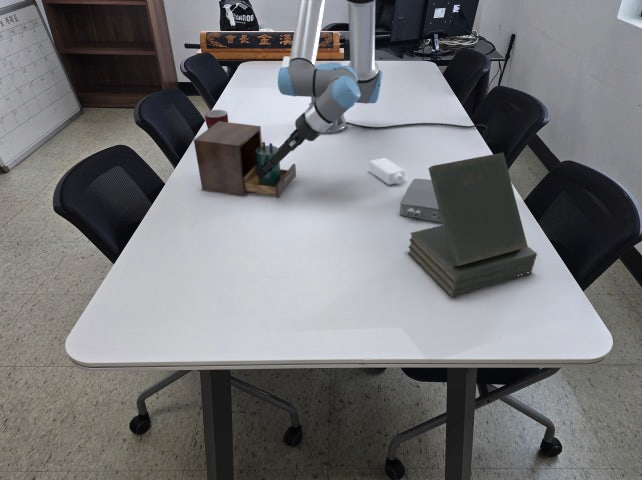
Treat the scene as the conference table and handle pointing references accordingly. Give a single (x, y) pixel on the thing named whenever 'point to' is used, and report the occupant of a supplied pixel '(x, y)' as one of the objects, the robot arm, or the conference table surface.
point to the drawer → (281, 185)
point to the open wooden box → (227, 156)
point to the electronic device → (420, 201)
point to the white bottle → (387, 171)
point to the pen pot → (261, 157)
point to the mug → (215, 117)
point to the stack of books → (473, 228)
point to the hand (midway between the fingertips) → (267, 165)
